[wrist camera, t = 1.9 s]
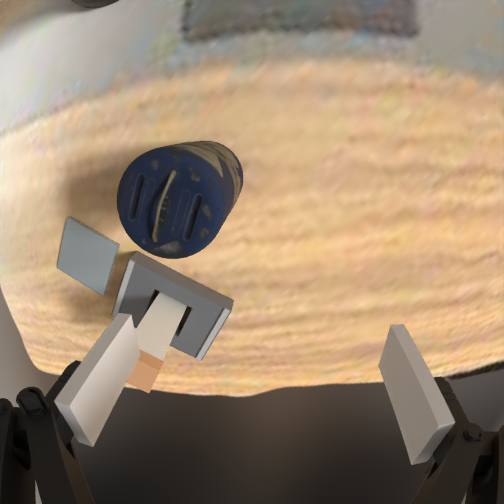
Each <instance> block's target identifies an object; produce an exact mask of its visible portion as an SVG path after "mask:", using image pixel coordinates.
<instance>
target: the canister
mask: <svg viewBox="0 0 504 504" xmlns="http://www.w3.org/2000/svg"><path fill="white" fill-rule="evenodd" d="M242 186H243V171H242V167H241V164H240V162H239V160H238V158H237V157H236V156H235V154H234V153H233V152H232V151H231V150H230V149H228V148H227V147H226V146H224V145H222V144H220V143H217V142H213V141H199V142H188V143H181V144H175V145H170V146H165V147H160V148H156V149H153V150H150V151H148V152H146V153H144V154H142V155H141V156H139V157H138V158H136V159H135V160H134V161H133V162H132V163H131V164H130V165H129V166H128V168H127V169H126V171H125V172H124V174H123V176H122V178H121V181H120V184H119V187H118V193H117V209H118V213H119V217H120V221H121V223H122V226H123V227H124V229H125V231H126V233H127V234H128V236H129V237H130V238H131V239H132V240H133V241H134V242H135V243H136V244H137V245H138V246H139V247H140V248H142V249H143V250H145V251H147V252H148V253H150V254H153V255H155V256H158V257H162V258H167V259H178V258H185V257H188V256H191V255H194V254H196V253H198V252H199V251H201V250H203V249H204V248H205V247H206V246H207V245H209V244H210V243H211V242H212V240H213V239H214V238H215V237H216V235H217V234H218V232H219V230H220V229H221V227H222V225H223V223H224V222H225V220H226V218H227V216H228V215H229V213H230V212H231V210H232V208H233V207H234V205H235V203H236V201H237V199H238V197H239V195H240V192H241V189H242Z"/></svg>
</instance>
